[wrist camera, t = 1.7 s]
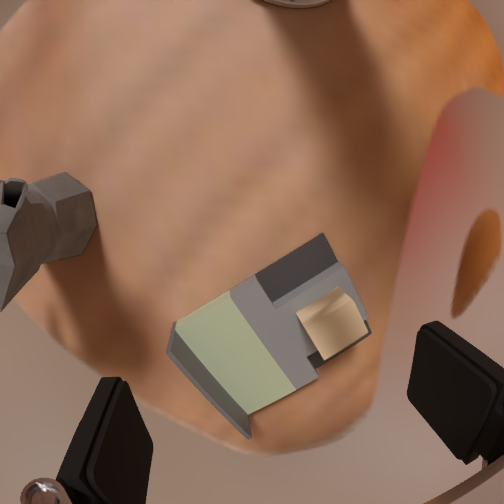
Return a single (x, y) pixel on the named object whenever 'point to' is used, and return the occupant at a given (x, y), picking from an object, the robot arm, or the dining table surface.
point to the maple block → (332, 322)
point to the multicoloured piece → (259, 334)
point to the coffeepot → (40, 227)
